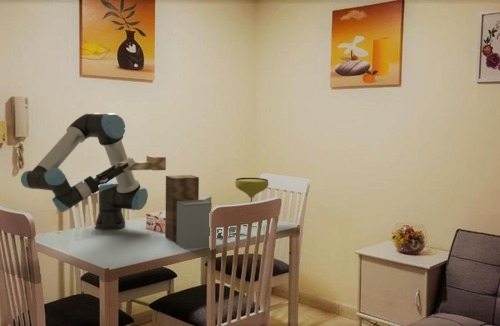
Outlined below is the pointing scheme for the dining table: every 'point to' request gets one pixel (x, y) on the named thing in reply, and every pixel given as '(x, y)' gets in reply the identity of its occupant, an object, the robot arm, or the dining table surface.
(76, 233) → the dining table surface
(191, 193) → the tall walnut stand
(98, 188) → the robot arm
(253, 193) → the cocktail glass
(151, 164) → the ash mallet
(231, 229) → the l-shaped corner panel
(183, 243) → the grey rectangular block
